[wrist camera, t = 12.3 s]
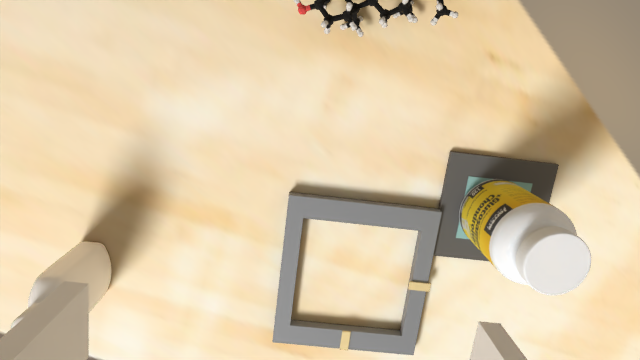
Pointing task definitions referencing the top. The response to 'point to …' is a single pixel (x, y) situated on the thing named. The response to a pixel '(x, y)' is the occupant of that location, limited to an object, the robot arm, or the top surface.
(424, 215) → the socket plate
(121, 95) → the top surface
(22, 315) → the eye dropper bottle
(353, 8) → the molecular model
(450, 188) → the mat
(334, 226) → the top surface
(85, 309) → the robot arm
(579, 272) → the pill bottle
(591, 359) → the top surface
